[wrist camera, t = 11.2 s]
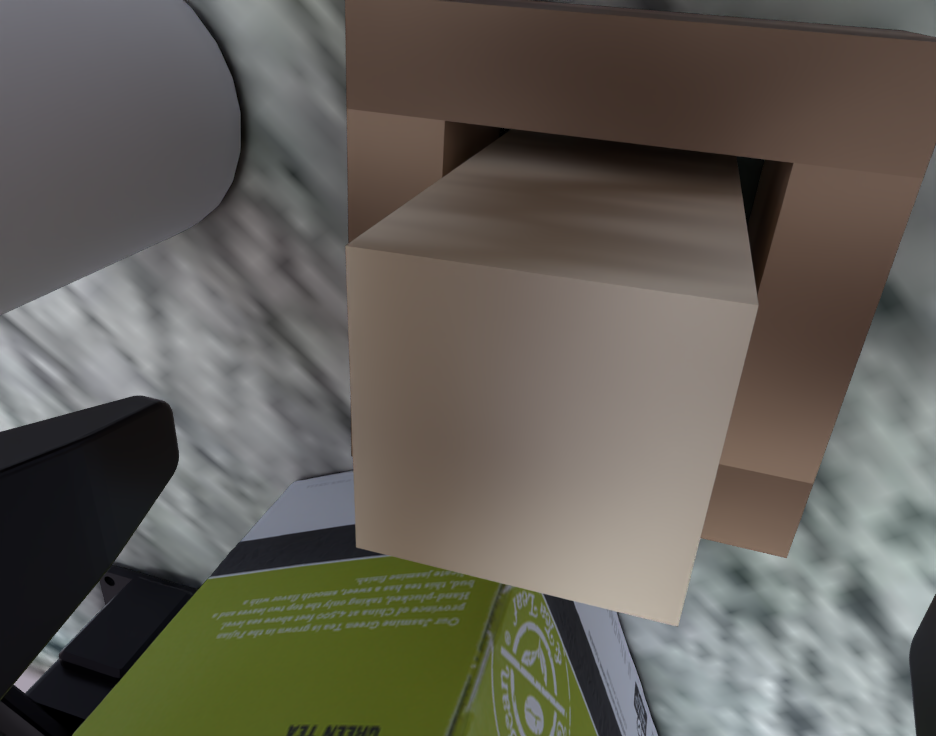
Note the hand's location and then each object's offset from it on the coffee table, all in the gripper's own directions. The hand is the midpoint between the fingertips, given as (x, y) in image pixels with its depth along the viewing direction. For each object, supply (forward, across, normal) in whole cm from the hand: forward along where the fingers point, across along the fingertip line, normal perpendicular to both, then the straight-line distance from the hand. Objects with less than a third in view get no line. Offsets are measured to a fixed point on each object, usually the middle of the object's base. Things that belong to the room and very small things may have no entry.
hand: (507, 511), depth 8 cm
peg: (+12, 0, 0) cm, 12 cm away
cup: (+12, +15, -2) cm, 19 cm away
